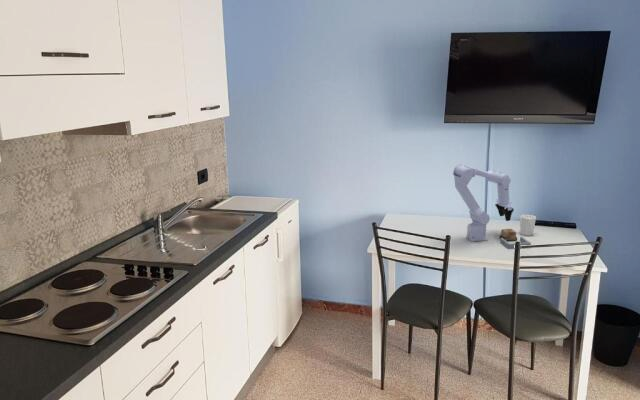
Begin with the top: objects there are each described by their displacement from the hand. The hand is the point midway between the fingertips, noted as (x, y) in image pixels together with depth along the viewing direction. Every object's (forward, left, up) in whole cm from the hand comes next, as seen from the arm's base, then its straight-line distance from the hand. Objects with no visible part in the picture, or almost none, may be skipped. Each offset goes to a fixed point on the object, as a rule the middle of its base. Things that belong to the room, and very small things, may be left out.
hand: (504, 218), depth 273 cm
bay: (-1, -15, -10) cm, 18 cm away
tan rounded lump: (-1, -7, -10) cm, 12 cm away
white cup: (+13, 0, -10) cm, 16 cm away
